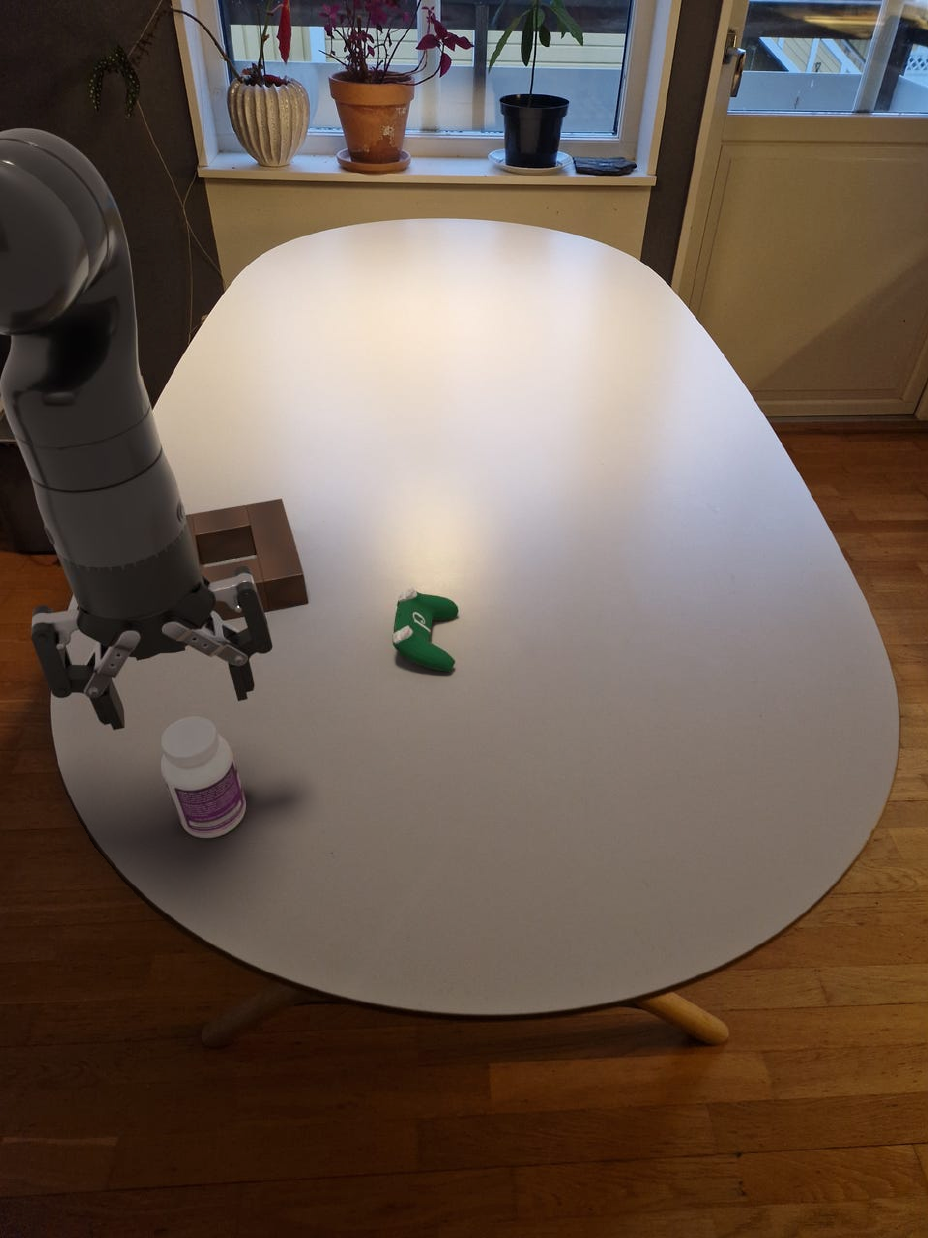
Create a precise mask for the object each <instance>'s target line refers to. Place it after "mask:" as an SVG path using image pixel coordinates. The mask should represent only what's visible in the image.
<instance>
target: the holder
mask: <svg viewBox="0 0 928 1238" xmlns="http://www.w3.org/2000/svg"><path fill="white" fill-rule="evenodd" d="M185 515H186V519H187V523H188V526H189V530H190V534H191V538H192V541H193V545H194V549H195V552H196V556H197V559H198V563H199V567H200V570H201V573H202V574H203V576H204V577H205V578H206V579H208V580H209V581H210V582H211V583H212V582H216V581H220V580H224V579H228V578H232V577H234V575H233V572H234V570H235V569H236V568H237V567H240V566H247V567H249V568H250V569H251V571H252V574H253V577H254V581H255V584H256V587H257V591H258V594H259V597H260V600H261V604H262V607H263V610H264V613H266V612H271V611H276V610H281V609H287V608H291V607H296V606H301V605H305V604H308V603H309V600H308V599H309V598H308V593H307V586H306V580H305V579H306V578H305V573H304V570H303V566H302V563H301V560H300V556H299V552H298V550H297V549H298V548H297V545H296V542H295V539H294V535H293V531H292V529H291V525H290V521H289V519H288V515H287V511H286V507H285V504H284V501H283V498H277V499H271V500H266V501H259V502H254V503H249V504H241V505H236V506H230V507H223V508H218V509H212V510H207V511H201V512H195V513H190V514H188V513H187V514H185ZM254 555H256V557H254V558H249V559H244V560H238V561H232V562H228V563H220V564H217V565H216V564H215V565H211V566H206V567H204V565H205V564H210V563H216V562H222V561H227V560H232V559H238V558H243V557H249V556H254ZM213 611H214V612H216V613H217V614H218V615H219V616H220V618H221V619H222V620H223V621H225V620H226V621H227V620H231V619H236V618H241V617H244V615H243V612H242V611H241V612H240V613H237V612H235V610H233V609H231V608H230V607H229V606H228V604H227V603H225V602H223V601H216V604H215V607H214V609H213Z"/></svg>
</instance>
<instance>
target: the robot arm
mask: <svg viewBox="0 0 928 1238" xmlns="http://www.w3.org/2000/svg"><path fill="white" fill-rule="evenodd" d="M131 262H132V261H131V255H130V250H129V244H128V239H127V234H126V231H125V227H124V222H123V220H122V217H121V213H120V211H119V208H118V205H117V203H116V200H115V198H114V196H113V194H112V192H111V190H110V189H109V187H108V185H107V183H106V181H105V180H104V178H103V176H102V175H101V173H100V172H99V170H98V169H97V168H96V166H94V164H93V163H92V162H91V161H90V159H88V157H87V156H86V155H85V154H84V153H82V152H81V151H80V150H79V149H78V148H77V147H76V146H74V145H73V144H71V143H70V142H68V141H67V140H65V139H63V138H62V137H60V136H57V135H55V134H53V133H50V132H48V131H46V130H42V129H37V128H31V127H29V128H28V127H20V128H19V127H18V128H11V129H7V130H3V131H0V335H4V336H11V343H10V349H9V353H8V356H7V359H6V362H5V364H4V367H3V370H2V373H1V376H0V399H1V404H2V408H3V411H4V413H5V416H6V420H7V422H8V424H9V427H10V429H11V431H12V434H13V436H14V439H15V441H16V444H17V446H18V448H19V451H20V453H21V456H22V458H23V460H24V461H23V462H24V463H25V466H26V468H27V470H28V474H29V476H30V479H31V483H32V486H33V490H34V494H35V500H36V503H37V504H36V505H37V507H38V510H39V513H40V516H41V518H42V521H43V524H44V526H43V528H44V530H45V533H46V535H47V538H48V540H49V543H50V544H52V545H53V548H54V550H55V553H56V555H57V557H58V560H59V562H60V564H61V567H62V570H63V572H64V575H65V578H66V579H67V582H68V584H69V587H70V589H71V591H72V594H73V597H74V599H75V602H76V604H77V607H76V609H70V610H63V611H57V612H55V611H54V608H52V607H50V606H48V605H45V604H44V605H38V606H36V607H34V609H33V611H32V619H31V633H30V634H31V635H30V636H31V637H30V639H31V642H32V645H33V647H34V650H35V652H36V655H37V658H38V660H39V663H40V665H41V668H42V671H43V673H44V676H45V679H46V681H47V684H48V687H49V689H50V691H51V694H52V695H53V696H54V697H55V698H58V699H65V698H68V697H70V696H71V695H72V694H77V693H78V694H82V695H83V694H84V696H86V697H87V698H89V701H90V703H91V705H92V707H93V710H94V712H95V714H96V716H97V719H98V721H99V722H100V723H101V724H102V725H104V726H108V725H111V728H112V730H113V731H117V730H121V729H126V728H125V727H126V721H125V709H124V705H123V703H122V700H121V698H120V695H119V693H118V690H117V687H116V686H115V682H114V680H113V679H115V678H117V677H118V675H119V674H120V672H121V670H122V668H123V667H124V665H125V663H126V662H127V660H128V658H135V659H136V661H137V662H138V661H142V660H148V659H152V658H153V657H155V656H158V655H160V654H175V653H179V652H184V651H186V647H188V646H189V647H191V648H192V649H194V650H196V651H198V652H200V653H201V654H203V655H205V656H207V657H210V658H213V657H214V656H215V657H217V658H219V659H221V660H223V661H225V662H226V663H227V665H228V670H229V673H230V677H231V681H232V685H233V688H234V692H235V695H236V700H237V702H242V701H246V700H248V698H249V697H248V693H250V692H254V689H255V680H254V674H253V670H252V666H251V662H250V659H251V657H252V656H254V655H256V654H262V655H263V654H267V653H270V652H271V651H272V649H273V642H272V638H271V637H272V636H271V632H270V629H269V625H268V621H267V617H266V614H265V612H264V610H263V607H262V604H261V600H260V597H259V594H258V591H257V587H256V584H255V581H254V577H253V574H252V571H251V569H250V568H249V567H247V566H240V567H237V568H236V569H235V570H234V572H233V575H234V577H232V578H228V579H224V580H220V581H216V582H212V583H211V582H210V581H209V580H208V579H206V578H205V577H204V576H203V574H202V573H201V570H200V567H199V563H198V559H197V556H196V552H195V549H194V545H193V541H192V538H191V534H190V530H189V526H188V523H187V519H186V515H187V514H186V512H185V507H184V503H183V501H182V498H181V494H180V491H179V486H178V483H177V479H176V476H175V474H174V471H173V468H172V466H171V465H170V462H169V460H168V457H167V456H166V454H165V452H164V448H163V445H162V443H161V438H160V434H159V430H158V428H157V427H158V426H157V423H156V421H155V417H154V412H153V408H152V405H151V402H150V399H149V395H148V392H147V389H146V386H145V383H144V381H143V378H142V374H141V368H140V360H139V344H138V343H139V341H138V339H139V338H138V321H137V312H136V300H135V289H134V280H133V270H132V263H131ZM216 601H223V602H225V603H227V604H228V606H229V607H230V608H231V609H233V610H235V612H237V613H240V612H241V611H242V612H243V615H244V616H243V618H244V620H245V621H244V622H245V624H246V626H247V627H246V628H244V629H242V630H239V629H237V628H236V627H234V626H233V625H231V624H229V623H228V622H226V621H225V620H222V619H221V618H220V616H219V615H218V614H217V613H216V612H214V611H213V609H214V607H215V604H216ZM76 631H80V633H81V634H82V635H84V636H86V637H88V638H90V639H92V640H94V641H95V642H94V646H93V648H92V650H91V652H90V654H89V655H88V657H87V659H86V661H85V663H84V664H73V663H72V660H71V657H70V654H69V651H68V648H67V645H69V644H70V643H71V641H72V634H73V633H74V632H76Z"/></svg>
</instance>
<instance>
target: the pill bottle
mask: <svg viewBox="0 0 928 1238" xmlns="http://www.w3.org/2000/svg"><path fill="white" fill-rule="evenodd" d="M160 743H161V748H162V751H163V754H162V757H161V759H160V771H161V775H162V779H163V782H164V783H165V786H166V788H167V792H168V794H169V797H170V799H171V802H172V804H173V807H174V809H175V812H176V814H177V817H178V819H179V822H180V824H181V826H182V827H183V829H184V831H186V832H187V833H188V834H189V835H191V836H194V837H197V838H200V839H213V838H217V837H220V836H223V835H226V834H227V833H229V832H231V831H232V830H233V829H235V828H236V827H237V826H238V825H239V823H241V821H242V820H243V818H244V816H245V813H246V809H247V802H246V798H245V797H246V796H245V793H244V789H243V786H242V781H241V778H240V775H239V771H238V767H237V764H236V760H235V757H234V754H233V750H232V747H231V746H230V744H229V742H228V741H227V740H226V739H225V738H224V736H221V735H219V734H218V731H217V729H216V726H215V725H214V723H213V722H212V721H211V720H210V719H208V718H205V717H202V716H195V715H194V716H185V717H183V718H179V719H178V720H176V721H174V722H173V723H171V724H170V725H169V726H168V727H167V728H166V729H165V730H164V731H163V734H162V736H161V742H160Z"/></svg>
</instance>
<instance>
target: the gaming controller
mask: <svg viewBox="0 0 928 1238" xmlns="http://www.w3.org/2000/svg"><path fill="white" fill-rule="evenodd" d="M396 607H397V608H396V611H395V616H394V625H393V634H392V636H391V637H392V638H391V639H392V641H391V642H392V646H393V647H394V649H395V650H396V651H397V652H398V653H399V655H400V656H401V657H402V658H405V659H406V660H408V661H410V662H412V663H414V664H417V665H420V666H422V667H425V668H428V669H430V670H435V671H441V672H446V673H447V672H448V673H451V672H452V670H453V668H454V666H455V664H456V660H455V659H454V657H452V655H451V654H449V653H448V652H447V650H445V649H443V648H440V647H439V646H437V645H435V644H434V643H432V642H431V638H432V627H433V621H443V620H444V621H445V620H446V621H447V620H451V619H454V618H456V617H457V616H458V614H459V611H460V610H459V606H458V605H457V604H456V603H455V601H453V600H452V599H450V598H448V597H445V596H439V595H434V594H427V593H422V592H418V591H417V590H415V588H414V587H411V588H409V589H406V590H405V591H404V592H402V593H401V595H399V596H398V599H397V603H396Z"/></svg>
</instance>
